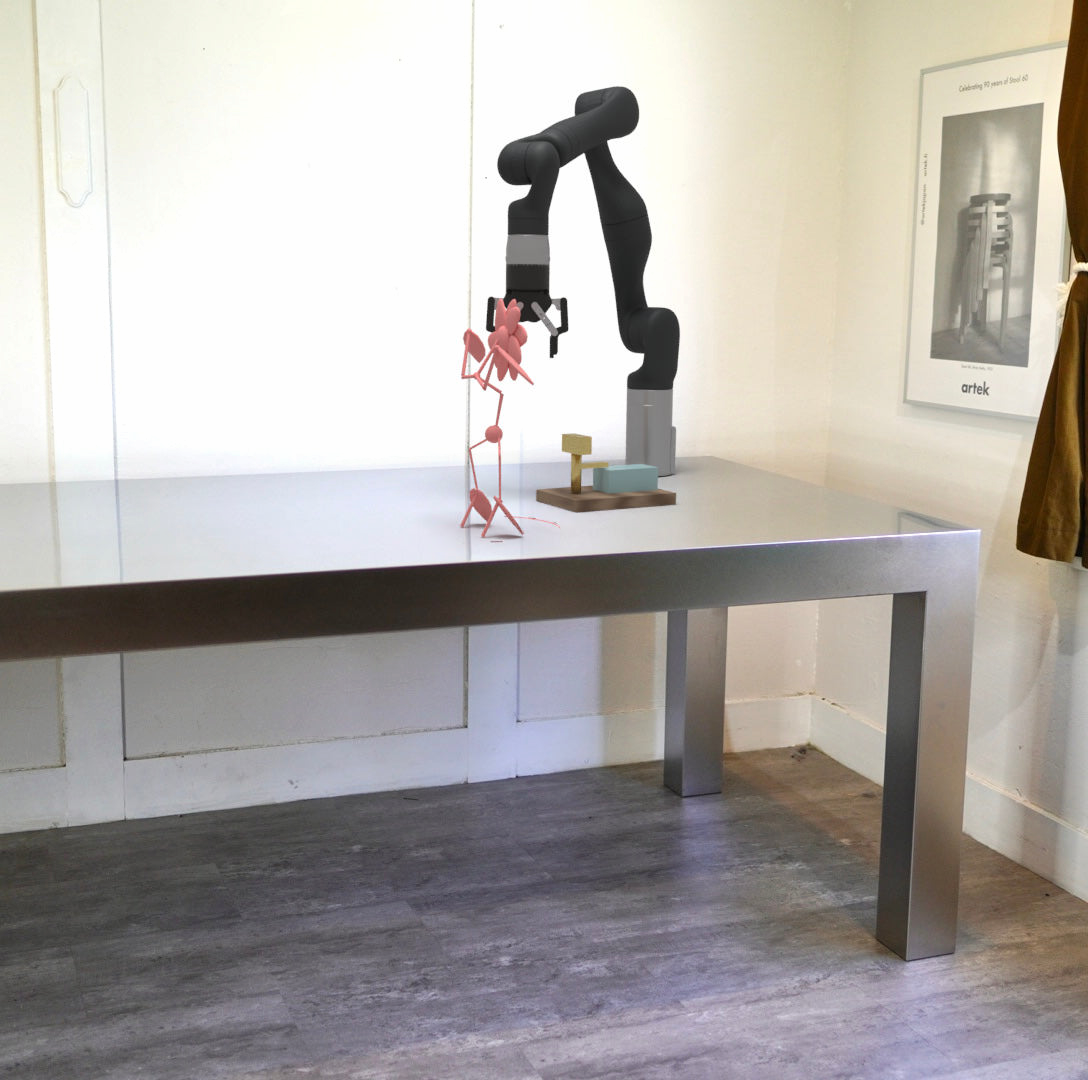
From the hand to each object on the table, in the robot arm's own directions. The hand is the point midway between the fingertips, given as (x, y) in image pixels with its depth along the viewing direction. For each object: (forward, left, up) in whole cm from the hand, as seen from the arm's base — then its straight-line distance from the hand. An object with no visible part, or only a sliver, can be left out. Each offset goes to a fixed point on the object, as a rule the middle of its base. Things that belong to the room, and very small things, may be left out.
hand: (526, 357), depth 232 cm
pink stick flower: (+17, +27, -25) cm, 40 cm away
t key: (-7, +10, -23) cm, 26 cm away
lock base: (-10, +10, -25) cm, 29 cm away
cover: (-14, +10, -23) cm, 29 cm away
